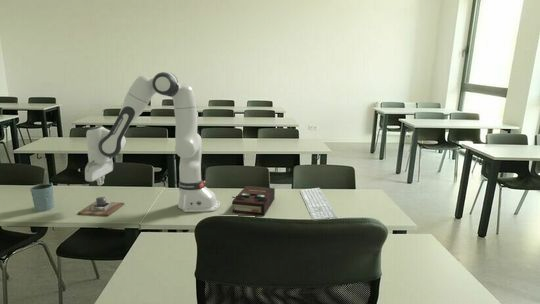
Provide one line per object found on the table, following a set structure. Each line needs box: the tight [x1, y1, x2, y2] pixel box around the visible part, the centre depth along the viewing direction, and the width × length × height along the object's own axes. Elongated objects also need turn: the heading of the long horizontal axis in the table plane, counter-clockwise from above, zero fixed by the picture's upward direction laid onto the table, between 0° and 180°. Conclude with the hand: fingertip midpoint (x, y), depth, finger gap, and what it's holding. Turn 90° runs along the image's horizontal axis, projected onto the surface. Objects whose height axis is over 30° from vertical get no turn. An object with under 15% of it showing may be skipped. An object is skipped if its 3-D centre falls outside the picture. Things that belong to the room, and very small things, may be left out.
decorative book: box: [231, 185, 276, 217], centre depth 204 cm, size 19×8×30 cm
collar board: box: [77, 200, 125, 217], centre depth 196 cm, size 16×16×2 cm
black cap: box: [95, 196, 107, 207], centre depth 196 cm, size 4×4×5 cm
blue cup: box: [29, 183, 55, 212], centre depth 196 cm, size 10×10×12 cm
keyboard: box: [299, 187, 338, 220], centre depth 208 cm, size 44×12×2 cm, turn 4°
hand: (100, 184), depth 194 cm, fingers closed
